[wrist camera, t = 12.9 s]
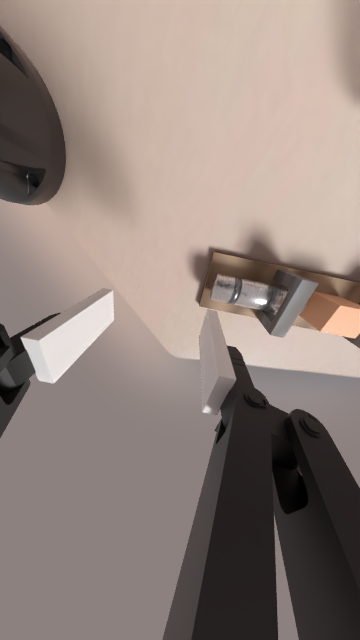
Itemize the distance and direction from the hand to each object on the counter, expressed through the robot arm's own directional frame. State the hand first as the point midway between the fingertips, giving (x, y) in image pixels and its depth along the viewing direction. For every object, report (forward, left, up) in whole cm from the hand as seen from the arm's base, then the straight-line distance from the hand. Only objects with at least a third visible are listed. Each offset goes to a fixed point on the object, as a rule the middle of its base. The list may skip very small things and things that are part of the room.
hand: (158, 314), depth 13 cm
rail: (+18, 0, -15) cm, 24 cm away
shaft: (+13, 0, -14) cm, 19 cm away
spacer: (+24, 0, -14) cm, 28 cm away
